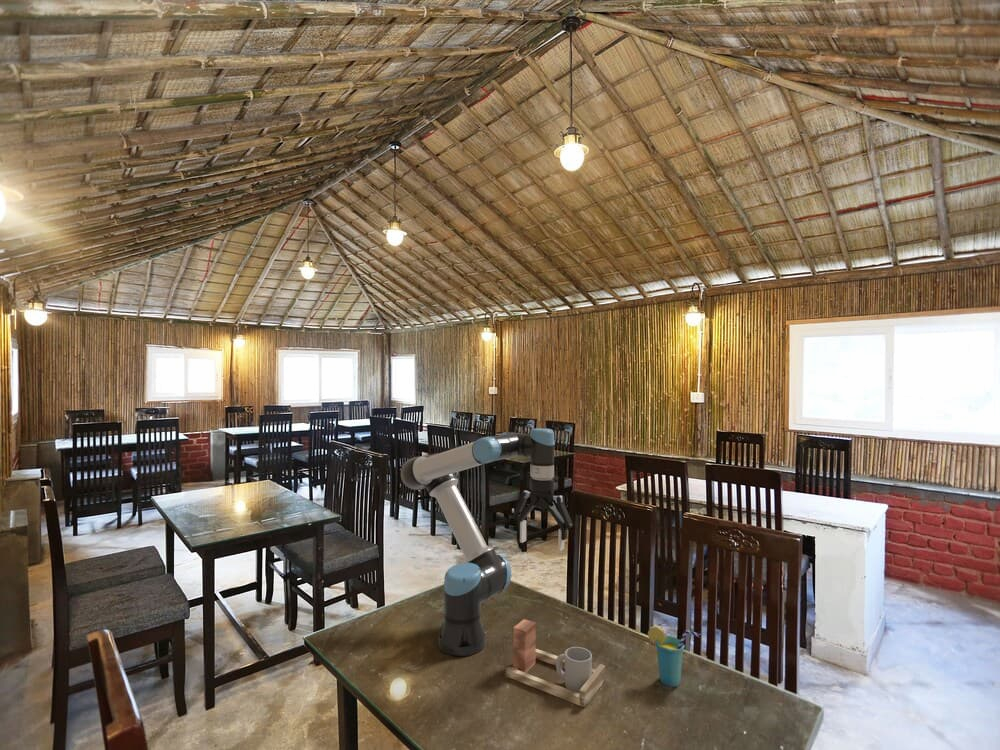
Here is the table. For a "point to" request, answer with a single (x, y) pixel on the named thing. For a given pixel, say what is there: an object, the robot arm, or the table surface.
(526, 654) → the frame
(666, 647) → the cup
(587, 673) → the cup
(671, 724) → the table surface
